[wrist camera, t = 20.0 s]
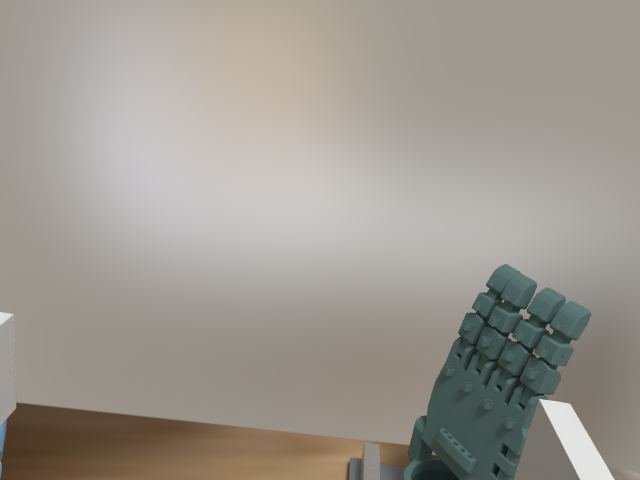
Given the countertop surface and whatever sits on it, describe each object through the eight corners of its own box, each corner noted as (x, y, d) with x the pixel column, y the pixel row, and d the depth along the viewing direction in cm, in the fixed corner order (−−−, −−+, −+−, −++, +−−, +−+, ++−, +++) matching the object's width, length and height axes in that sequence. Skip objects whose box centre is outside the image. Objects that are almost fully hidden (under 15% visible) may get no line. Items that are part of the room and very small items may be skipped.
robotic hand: (520, 646, 45) (693, 360, 41) (406, 620, 41) (584, 308, 38) (442, 517, 58) (568, 293, 55) (351, 490, 55) (480, 250, 51)
